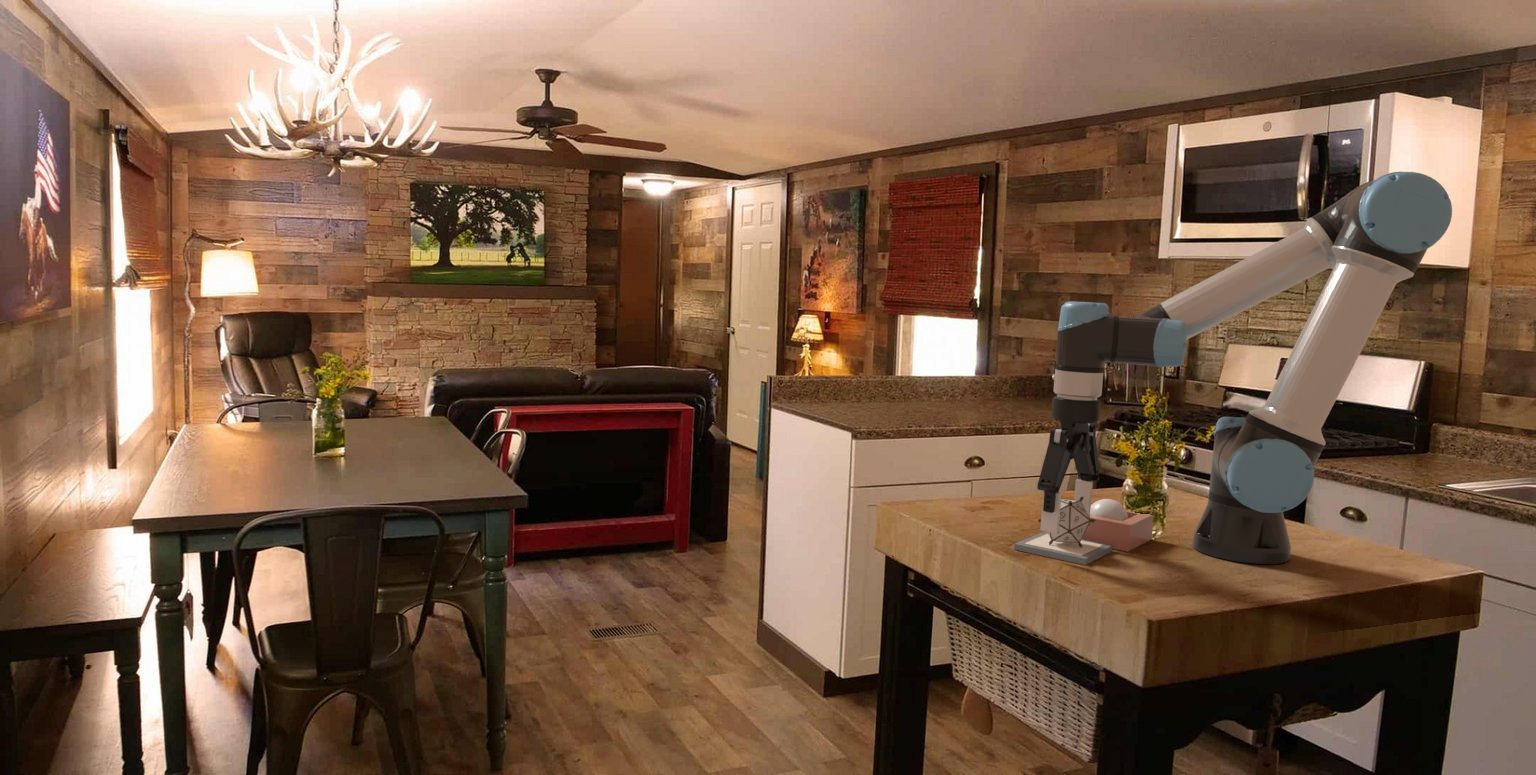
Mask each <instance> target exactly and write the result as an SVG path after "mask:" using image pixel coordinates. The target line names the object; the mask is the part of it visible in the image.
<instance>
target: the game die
mask: <svg viewBox="0 0 1536 775" xmlns="http://www.w3.org/2000/svg"><path fill="white" fill-rule="evenodd" d="M1082 500H1083V497H1080V500H1074V499H1072V498H1071V499H1070V498H1061V506H1060V518H1059V529H1058V533H1051V532H1048V534H1049V536H1050V538H1051V541H1050V542H1049V545H1050V544H1052V543H1053V541H1057V542H1069V543H1078V544H1079V547H1081V548H1082V543H1080V542H1081V540H1082V538H1083V536H1084V534H1085V532H1086V530H1087V528H1088V526H1089V525H1090V522H1094V521H1096V520H1094V519H1090V518H1089V516H1088V514H1087V512H1086V510H1085V508H1084V506H1083V504H1082V502H1081V501H1082ZM1037 522H1039V523H1041V518H1039V519H1037Z"/></svg>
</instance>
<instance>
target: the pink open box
mask: <svg viewBox="0 0 1536 775" xmlns="http://www.w3.org/2000/svg"><path fill="white" fill-rule="evenodd" d="M1093 503H1094V502H1093ZM1093 503H1092V502H1091V505H1092V504H1093ZM1127 510H1128V509H1126V511H1127ZM1127 514H1128V519H1126V520H1124V521H1119V520H1114V519H1108V518H1103V517H1098V516H1092V515H1090V519H1094V520H1096V521H1094V522H1090V525H1089V526H1088V528H1087V530H1086V532H1085V534H1084V536H1083V538H1082V540H1087V541H1092V542H1097V543H1102V544H1107V545H1112V550H1118V551H1123V552H1128V553H1129V552H1130V551H1132V550H1135V549H1136V548H1138V547H1139V546H1142V545H1143V544H1145V543H1148V542H1150V541H1151V540H1152V535H1153V526H1154V525H1153V524H1154V516H1153V515H1150V514H1151V513H1149V514H1140V513H1135V512H1131V511H1127Z"/></svg>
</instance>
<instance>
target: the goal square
mask: <svg viewBox="0 0 1536 775" xmlns="http://www.w3.org/2000/svg"><path fill="white" fill-rule="evenodd" d="M1050 541H1051V538H1050V536H1049V534H1048V532H1046V531H1042V532H1040V533H1038V534H1035V535H1033V536H1030V537H1027V538H1025V539H1023V540H1021V541H1018V542H1016V543H1014V544H1013V546H1014V547H1013V550H1014V551H1018V550H1019V551H1018V552H1022V551H1023V553H1028V554H1033V555H1038V556H1041V557H1047V558H1051V559H1056V560H1059V561H1064V562H1069V563H1074V564H1078V565H1083V566H1086V565H1089V564H1090V563H1092V562H1094V561H1096V560H1098V559H1100V558H1102V557H1104V556H1106V555H1108V554H1110V553H1112V552H1113V549H1112V545H1107V544H1102V543H1097V542H1092V541H1087V540H1081V542H1080V543H1082V548H1081V547H1079V544H1078V543H1069V542H1057V541H1053V543H1052V544H1050V545H1049V542H1050Z"/></svg>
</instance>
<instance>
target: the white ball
mask: <svg viewBox="0 0 1536 775" xmlns="http://www.w3.org/2000/svg"><path fill="white" fill-rule="evenodd" d="M1125 509H1126V508H1125V507H1124V505H1122V503H1120V502H1119V501H1118V500H1114V499H1111V498H1103V499H1099V500H1096V501H1095V502H1093V504H1092V505H1091V509H1090V515H1092V516H1098V517H1103V518H1108V519H1114V520H1119V521H1124V520H1126V519H1128V514H1127V511H1126V510H1127V509H1126V510H1125Z"/></svg>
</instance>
